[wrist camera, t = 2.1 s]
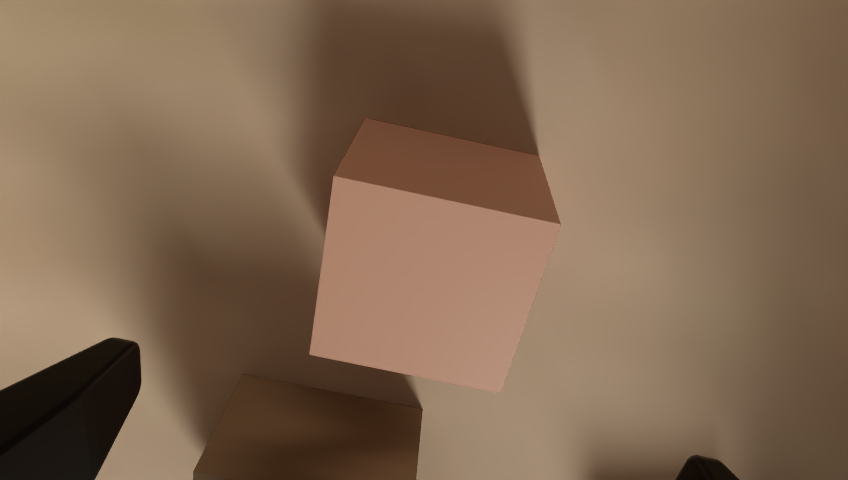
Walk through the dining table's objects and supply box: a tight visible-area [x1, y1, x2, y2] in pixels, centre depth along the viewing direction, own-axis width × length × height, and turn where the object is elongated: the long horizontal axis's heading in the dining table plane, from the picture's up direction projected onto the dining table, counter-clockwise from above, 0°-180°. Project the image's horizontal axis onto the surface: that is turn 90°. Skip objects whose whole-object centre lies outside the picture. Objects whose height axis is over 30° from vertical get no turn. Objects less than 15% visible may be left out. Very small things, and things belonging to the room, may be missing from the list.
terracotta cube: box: [309, 118, 561, 393], centre depth 14 cm, size 4×4×4 cm
